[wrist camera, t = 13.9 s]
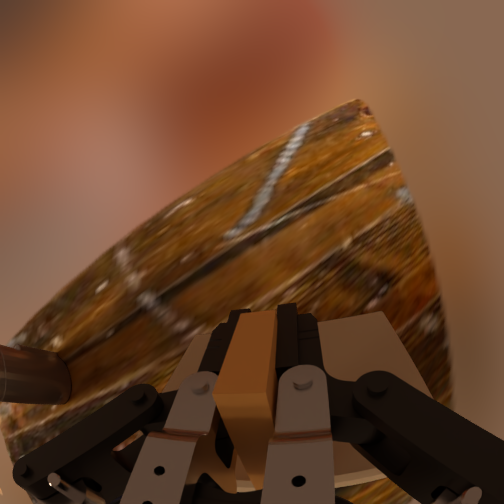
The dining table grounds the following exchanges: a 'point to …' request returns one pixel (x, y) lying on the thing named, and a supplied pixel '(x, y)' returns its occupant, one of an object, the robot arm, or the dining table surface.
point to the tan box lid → (266, 383)
